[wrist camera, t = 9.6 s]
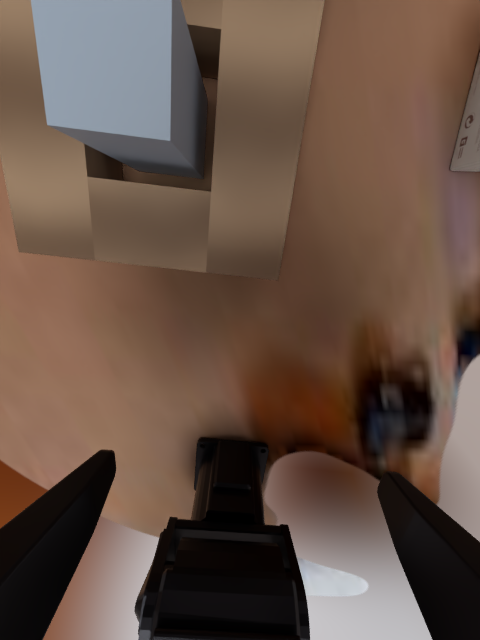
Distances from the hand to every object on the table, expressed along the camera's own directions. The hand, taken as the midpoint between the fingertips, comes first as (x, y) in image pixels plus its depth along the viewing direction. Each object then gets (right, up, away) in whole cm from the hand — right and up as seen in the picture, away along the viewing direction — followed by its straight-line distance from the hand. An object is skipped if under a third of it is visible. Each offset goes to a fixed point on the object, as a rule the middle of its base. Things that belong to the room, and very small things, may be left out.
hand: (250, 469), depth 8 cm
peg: (-4, +16, +7) cm, 18 cm away
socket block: (-4, +16, +7) cm, 18 cm away
